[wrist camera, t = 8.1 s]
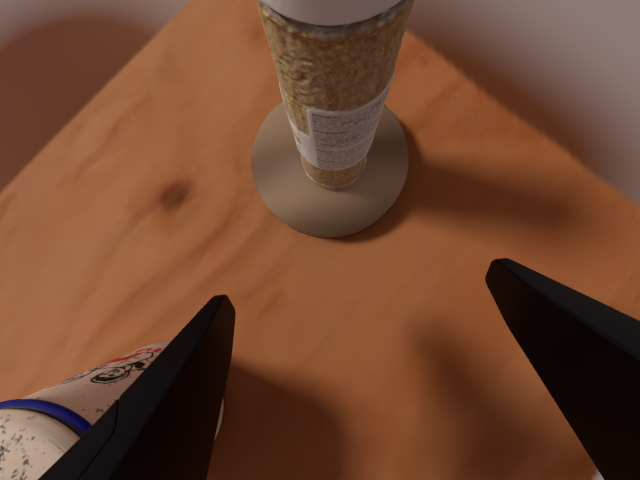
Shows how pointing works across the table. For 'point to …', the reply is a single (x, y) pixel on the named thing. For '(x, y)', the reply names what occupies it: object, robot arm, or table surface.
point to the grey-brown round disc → (321, 203)
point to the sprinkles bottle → (334, 76)
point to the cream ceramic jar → (65, 414)
